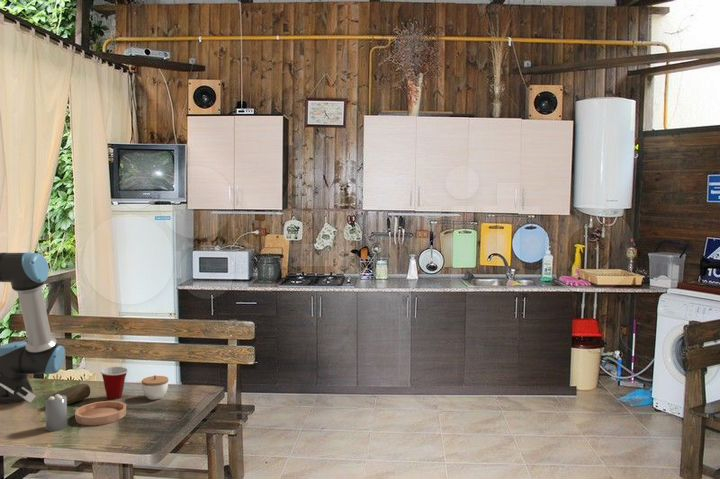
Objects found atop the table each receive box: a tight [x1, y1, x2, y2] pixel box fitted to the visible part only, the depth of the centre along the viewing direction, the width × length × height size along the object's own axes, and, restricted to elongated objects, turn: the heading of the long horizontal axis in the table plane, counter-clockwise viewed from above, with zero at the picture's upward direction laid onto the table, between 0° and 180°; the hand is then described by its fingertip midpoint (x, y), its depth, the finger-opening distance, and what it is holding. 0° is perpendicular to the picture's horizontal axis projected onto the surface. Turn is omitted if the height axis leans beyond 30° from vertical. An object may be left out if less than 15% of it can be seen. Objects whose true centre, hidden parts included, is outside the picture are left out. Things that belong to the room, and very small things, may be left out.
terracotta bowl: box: [74, 400, 127, 426], centre depth 230 cm, size 18×18×3 cm
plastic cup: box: [100, 366, 129, 400], centre depth 252 cm, size 11×11×12 cm
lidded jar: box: [141, 374, 169, 401], centre depth 252 cm, size 11×11×9 cm
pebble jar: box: [44, 394, 68, 432], centre depth 218 cm, size 7×7×12 cm
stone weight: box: [52, 383, 91, 406], centre depth 245 cm, size 15×7×7 cm, turn 154°
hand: (24, 394), depth 209 cm, fingers open, 13 cm apart
